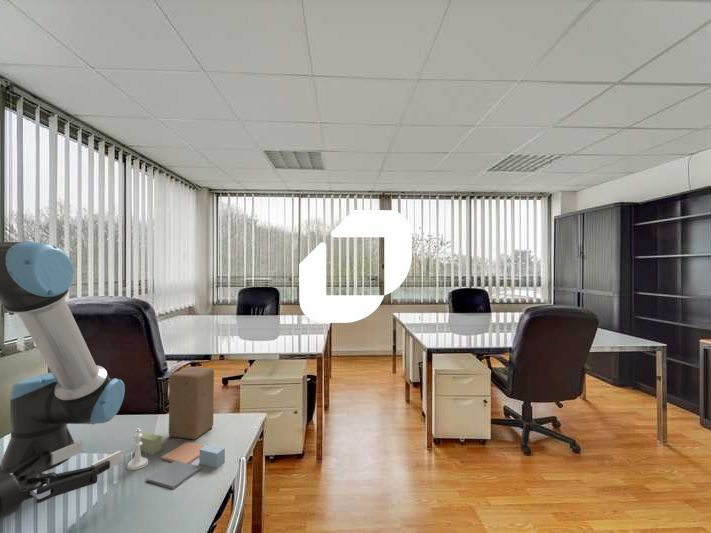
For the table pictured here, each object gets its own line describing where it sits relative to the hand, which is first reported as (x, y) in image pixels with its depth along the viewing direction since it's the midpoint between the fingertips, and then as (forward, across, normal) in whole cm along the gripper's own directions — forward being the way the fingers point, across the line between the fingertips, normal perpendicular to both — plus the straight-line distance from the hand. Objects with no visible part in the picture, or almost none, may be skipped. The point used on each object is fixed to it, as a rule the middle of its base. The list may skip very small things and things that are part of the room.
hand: (100, 451), depth 87 cm
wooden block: (+30, -1, -8) cm, 32 cm away
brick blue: (+18, +18, -9) cm, 27 cm away
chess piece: (+10, 0, -9) cm, 14 cm away
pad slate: (+10, +13, -9) cm, 19 cm away
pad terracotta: (+19, +8, -8) cm, 22 cm away
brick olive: (+17, -4, -8) cm, 20 cm away
